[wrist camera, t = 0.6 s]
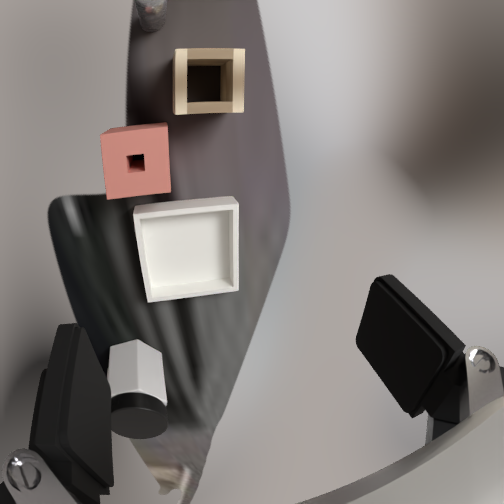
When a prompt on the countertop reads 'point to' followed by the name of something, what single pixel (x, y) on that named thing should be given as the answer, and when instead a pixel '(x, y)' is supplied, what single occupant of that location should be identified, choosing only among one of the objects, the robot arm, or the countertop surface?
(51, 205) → the countertop surface
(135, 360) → the jar
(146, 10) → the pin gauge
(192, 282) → the tray
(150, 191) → the red block small bore
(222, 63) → the beech block wide bore
